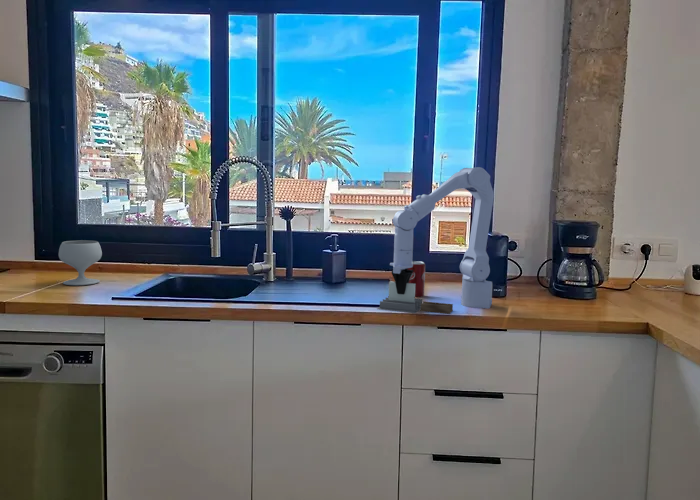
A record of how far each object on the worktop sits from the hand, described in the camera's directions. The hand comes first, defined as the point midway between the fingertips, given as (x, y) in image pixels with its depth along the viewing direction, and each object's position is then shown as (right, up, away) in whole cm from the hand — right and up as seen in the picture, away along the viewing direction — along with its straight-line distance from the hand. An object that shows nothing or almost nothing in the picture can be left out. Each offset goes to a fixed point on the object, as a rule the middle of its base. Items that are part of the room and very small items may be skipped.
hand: (401, 293), depth 167 cm
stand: (+10, -6, -3) cm, 12 cm away
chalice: (-113, +1, +29) cm, 117 cm away
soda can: (+6, -3, +20) cm, 21 cm away
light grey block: (0, -4, +1) cm, 4 cm away
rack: (0, -5, +1) cm, 5 cm away
